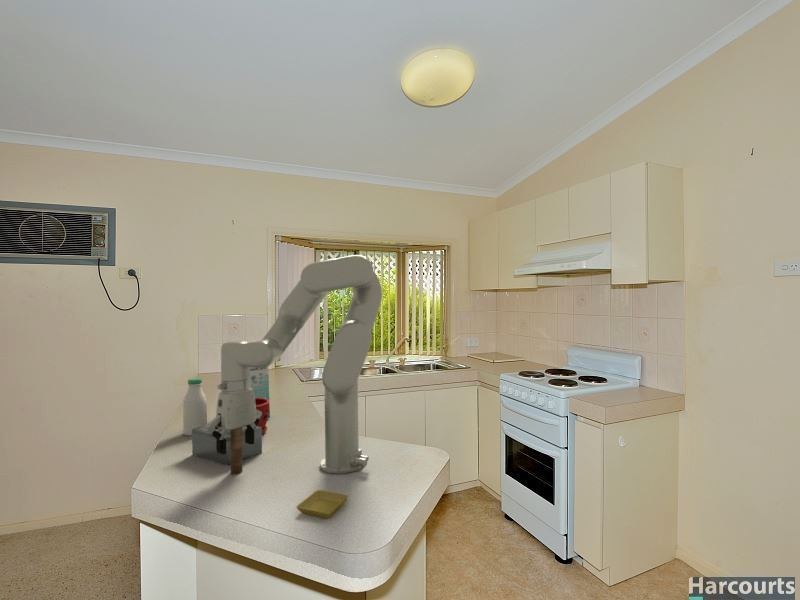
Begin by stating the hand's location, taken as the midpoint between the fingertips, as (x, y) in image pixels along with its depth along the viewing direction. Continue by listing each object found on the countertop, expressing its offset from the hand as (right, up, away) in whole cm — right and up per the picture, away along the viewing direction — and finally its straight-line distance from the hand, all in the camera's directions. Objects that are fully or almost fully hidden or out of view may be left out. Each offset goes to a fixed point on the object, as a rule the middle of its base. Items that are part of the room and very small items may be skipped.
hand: (236, 448), depth 109 cm
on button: (-4, -2, +12) cm, 13 cm away
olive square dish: (+28, -6, -21) cm, 36 cm away
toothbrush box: (-18, -9, +57) cm, 60 cm away
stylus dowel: (0, -7, 0) cm, 7 cm away
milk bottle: (-30, -8, +36) cm, 48 cm away
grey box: (-9, -7, +14) cm, 18 cm away
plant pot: (-9, -8, +33) cm, 35 cm away
